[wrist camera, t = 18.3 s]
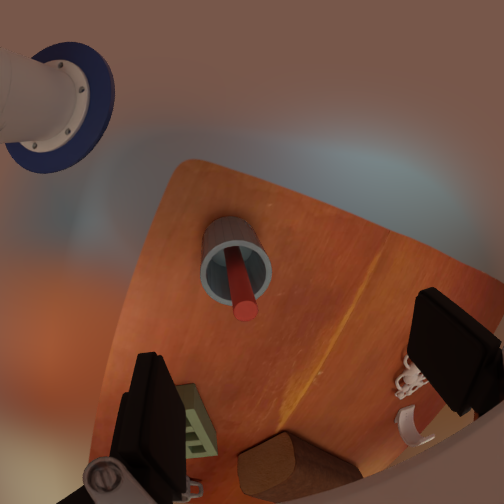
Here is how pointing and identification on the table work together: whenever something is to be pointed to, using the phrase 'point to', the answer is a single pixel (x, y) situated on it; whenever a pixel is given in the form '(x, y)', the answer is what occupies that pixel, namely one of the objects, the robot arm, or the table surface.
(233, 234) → the grey pencil cup
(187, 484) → the mug
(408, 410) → the headphone stand
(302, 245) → the table surface
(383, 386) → the table surface
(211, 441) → the rack
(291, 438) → the bread
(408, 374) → the tangled rod sculpture
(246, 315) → the red cylindrical rod
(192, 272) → the table surface
